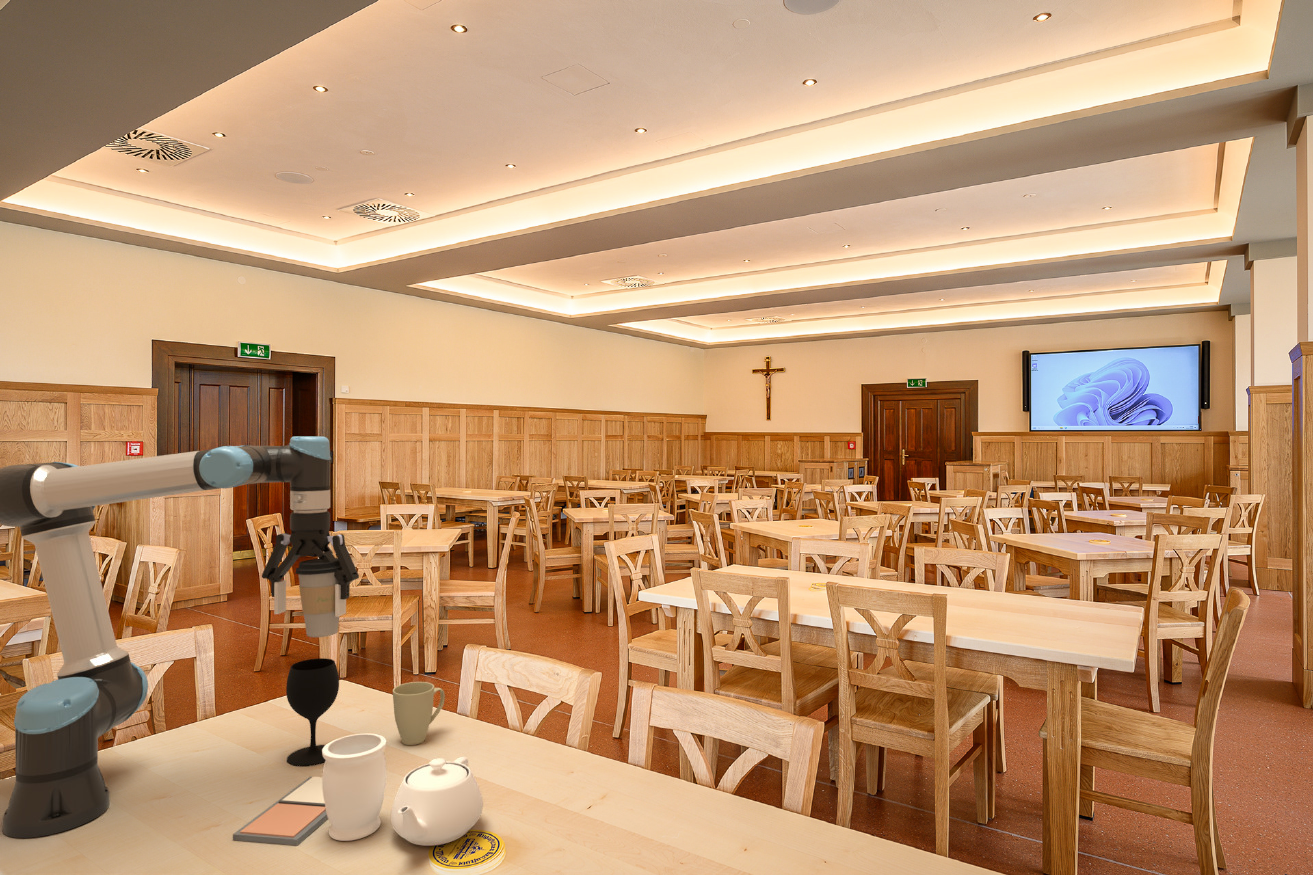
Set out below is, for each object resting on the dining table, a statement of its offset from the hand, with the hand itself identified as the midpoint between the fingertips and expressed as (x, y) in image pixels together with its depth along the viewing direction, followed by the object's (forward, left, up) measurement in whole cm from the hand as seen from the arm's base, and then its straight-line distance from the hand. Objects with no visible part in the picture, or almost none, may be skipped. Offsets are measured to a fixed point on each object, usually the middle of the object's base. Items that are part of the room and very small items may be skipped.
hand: (310, 614), depth 154 cm
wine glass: (-4, +7, -33) cm, 34 cm away
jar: (+21, -20, -33) cm, 44 cm away
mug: (+14, +19, -33) cm, 40 cm away
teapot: (+36, -18, -33) cm, 52 cm away
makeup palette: (+9, -15, -33) cm, 37 cm away
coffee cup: (+3, 0, -4) cm, 5 cm away
